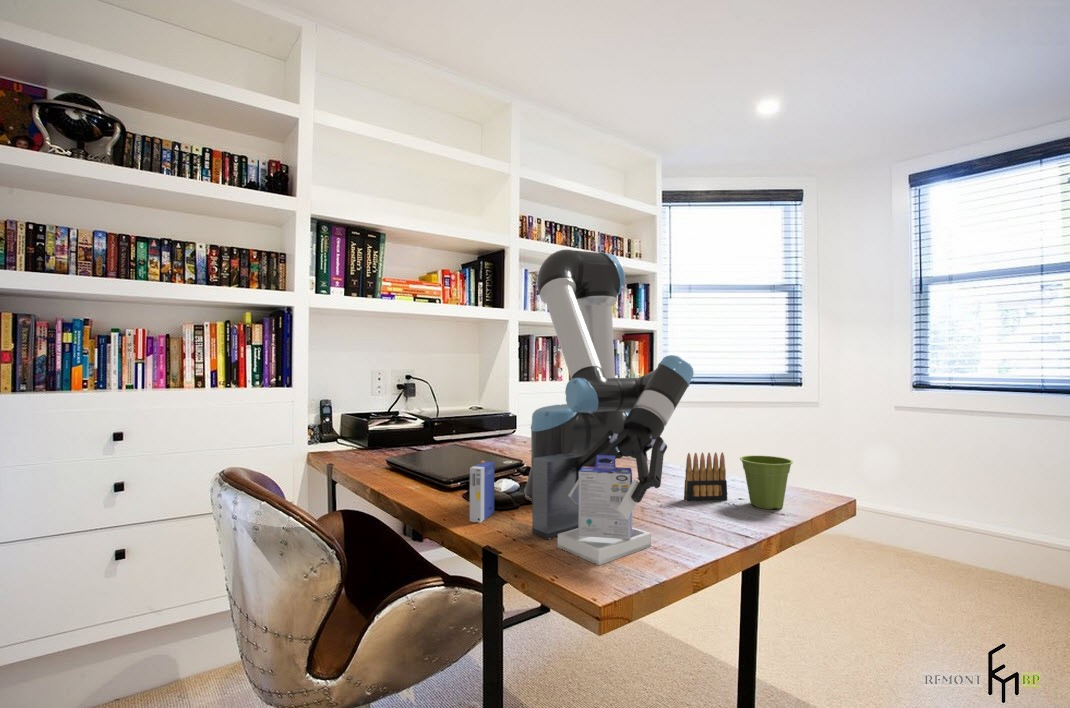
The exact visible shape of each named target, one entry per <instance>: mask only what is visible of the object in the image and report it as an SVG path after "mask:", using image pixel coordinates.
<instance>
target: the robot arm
mask: <svg viewBox="0 0 1070 708" xmlns="http://www.w3.org/2000/svg"><path fill="white" fill-rule="evenodd" d="M536 279H537V280H536V285H537V287H536V288H537V291H538V294H539V295H538V296H539V298H540V300H541V302H543V303H544V304H546V307H547V310H548V313H549V316H550V319H551V321H552V324H553V329H554V331H555V334H556V337H557V340H558V343H559V346H560V347H559V348H560V349H561V352H562V356H563V359H564V361H565V364H566V367H567V370H568V374H569V377H570V380H568V382H567V383H566V386H565V393H564V394H565V402H566V403H564V404H552V405H547V406H542V407H540V408H537V409H535V410H534V411H533V412H532V415H531V426H530V430H531V431H530V432H531V439H530V440H531V441H530V442H531V443H530V445H531V447H530V449H531V450H530V451H531V459H530V460H531V462H530V463H531V464H530V465H531V466H530V470H529V474H528V477H527V480H526V485H525V486H524V493H525V494H526V495H527V496H529V497H530V498H533V458H538V457H544V456H551V455H557V454H564V453H570V452H577V451H584V450H590V449H591V450H590V451H589V452H588V453H587V454H586V455H585V456H583V457H582V458H581V459H580V460H579V461H578V465H579V466H580V467H581V468H582V466H585V467H595V465H596V459H597V455H613V456H615V460H616V459H621V458H622V457H626V458H627V457H630V458H632V459H635V463H636V469H637V476H636V479H638V480H636V479H632V484H631V486H630V488H629V489H628V491H627V493H626V495H625V496H624V498H623V500H622V502H621V504H620V505H619V507H618V509H617V511H618V512H619V513H620V514H621V516H622V517H623V518H624V519H626V520H628V518H629V516H630V514H631V512H632V513H633V511H634V509H635V507H636V505H637V503H638V504H639V503H640V502H641V501H642V499H643V498H644V496H645V494H646V493H647V491H648V490H649V489H651V488H655V489H659V488H660V487H661V486H662V485H661V484H662V475H663V465H664V464H663V463H664V457H665V453H666V451H667V449H668V445H667V443H666V442H665V441H664V439H663V437H661V435H662V434H663V432H664V430H665V427H666V426H667V424H668V423H669V421H670V419H671V418H672V415H673V414H674V412H675V410H676V408H677V407H678V405H679V403H680V401H681V399H682V397H683V396H684V394H685V392H686V391H687V389H688V388H689V387H690V384H691V381H692V379H693V378H694V374H695V372H694V368H693V366H692V365H691V363H689V362H688V361H687V360H686V359H685V358H683V357H682V356H678V355H674V354H673V355H672V354H669V355H666V356H665V357H663V358H662V359H661V361H660V362H659V363H658V365H657V367H656V369H654V370H652V371H650V372H647V373H646V374H644V375H642V376H639V377H638V376H637V377H616V368H615V366H616V365H615V349H614V348H615V346H614V344H615V343H614V328H613V326H614V325H613V307H614V305H615V303H616V302H617V301H618V296H620V295H621V294H622V292H623V290H624V285H625V282H626V275H625V268H624V265H623V263H622V262H621V260H620V259H619V258H618V257H617V256H616V255H614V254H609V253H606V252H601V251H598V252H597V251H596V252H595V251H585V250H584V251H583V250H575V249H574V250H573V249H561V250H557V251H555V252H553V253H551V254H549V256H548V257H546V259H545V260H544V261H543V262H542V264H541V266H540V268H539V270H538V274H537V278H536ZM650 450H651V455H650V463H649V466H648V461H649V459H648V453H647V452H649V451H650ZM599 462H601V463H612V460H610V459H601V460H599ZM575 483H576V484H575V485H574V487H573V488H572V490H571V492H570V493H569V495H568V496H569V497H570V499H571V500H572V501H573V502H574V503H575V504H577V505H578V486H579V484H578V477H577V479H576V481H575ZM524 493H523V494H524Z"/></svg>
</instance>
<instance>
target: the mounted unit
mask: <svg viewBox="0 0 1070 708" xmlns="http://www.w3.org/2000/svg"><path fill="white" fill-rule="evenodd" d="M590 450H591V449H590ZM590 450H584V451H577V452H570V453H564V454H557V455H551V456H544V457H538V458H533V498H532V502H531V503H532V515H531V516H532V519H531V522H532V526H531V527H532V530H531V531H532V533H533V534H532V533H531V534H532V535H535V534H536V535H535V536H537V535H538V536H537V537H539V536H540V538H542V537H543V538H542V539H544V538H546V539H548V540H550V539H549V538H552V539H554V538H553V537H555V538H558V537H557V536H558V534H560V533H563V532H567V531H570V530H574V529H577V528H578V505H577V504H575V503H574V502H573V501H572V500H571V499H570V497H569V496H568V495H569V493H570V492H571V490H572V488H573V487H574V485H575V484H576V483H575V481H576V479H577V477H578V472H579V471H580V469H581V467H580V466H579V465H578V461H579V460H580V459H581V458H582V457H583V456H585V455H586V454H587V453H588V452H589V451H590ZM546 539H545V540H546Z"/></svg>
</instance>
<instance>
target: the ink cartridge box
mask: <svg viewBox="0 0 1070 708" xmlns="http://www.w3.org/2000/svg"><path fill="white" fill-rule="evenodd" d="M601 459H610V460H612V462H610V463H601V462H599V460H601ZM632 482H633V470H632V468H631V467H623V466H622V467H621V466H619V467H618V466H617V465H616V459H615V456H613V455H597V459H596V465H595V467H585V466H582V468H581V469H580V471H579V472H578V484H579V486H578V536H588V537H603V538H616V539H631V534H632V527H633V511H632V512H631V514H630V516H629V518H628V520H626V519H624V518H623V517H622V516H621V514H620V513H619V512H618V511H617V509H618V507H619V505H620V504H621V502H622V500H623V498H624V496H625V495H626V493H627V491H628V489H629V488H630V486H631V484H632Z"/></svg>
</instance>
